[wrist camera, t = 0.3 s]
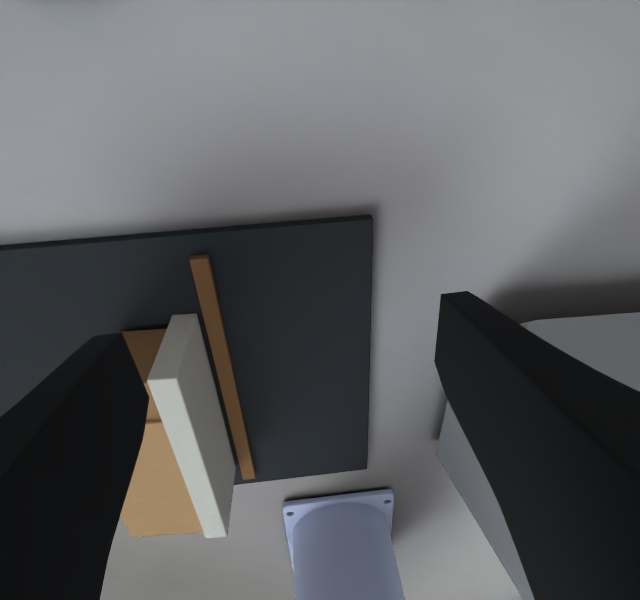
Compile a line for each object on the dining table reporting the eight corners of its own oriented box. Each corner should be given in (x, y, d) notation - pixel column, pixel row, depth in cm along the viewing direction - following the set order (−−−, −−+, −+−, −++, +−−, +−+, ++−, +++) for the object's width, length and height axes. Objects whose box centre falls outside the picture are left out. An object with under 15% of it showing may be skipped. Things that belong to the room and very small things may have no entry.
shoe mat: (365, 462, 29) (368, 474, 29) (30, 502, 28) (24, 515, 27) (371, 214, 19) (375, 222, 19) (-153, 258, 18) (-170, 269, 17)
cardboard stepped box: (236, 466, 27) (227, 537, 24) (153, 472, 27) (131, 544, 24) (197, 312, 21) (176, 378, 17) (86, 319, 21) (42, 387, 17)
